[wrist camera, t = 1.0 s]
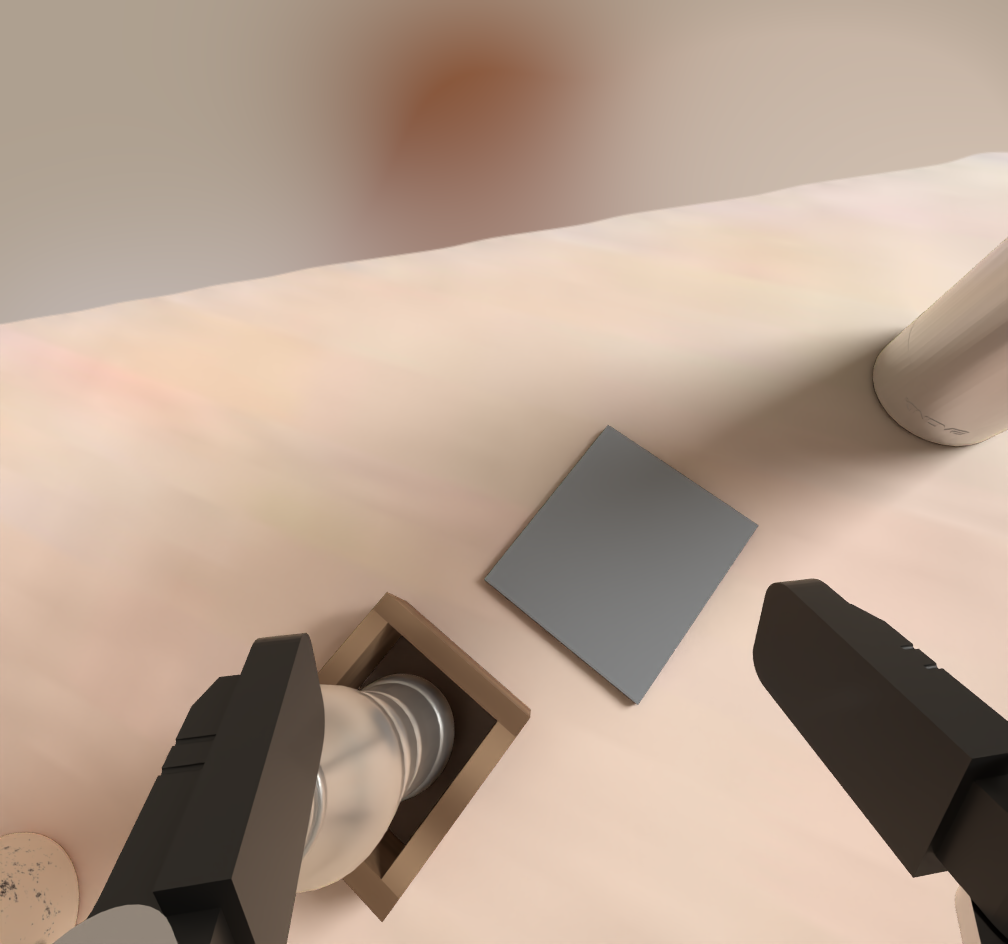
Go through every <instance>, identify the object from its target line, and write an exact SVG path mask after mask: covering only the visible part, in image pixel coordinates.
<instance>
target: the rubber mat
mask: <svg viewBox="0 0 1008 944" xmlns="http://www.w3.org/2000/svg"><path fill="white" fill-rule="evenodd" d="M757 527H758V525H757V524H756V523H754V522H753V521H751V520H750V519H748V518H747V517H745V516H744V515H742V514H741V513H739V512H738V511H736V510H735V509H733V508H732V507H730V506H729V505H727V504H726V503H724V502H723V501H721V500H720V499H718V498H717V497H715V496H714V495H712V494H711V493H709V492H708V491H706V490H705V489H703V488H702V487H700V486H699V485H697V484H696V483H694V482H693V481H691V480H690V479H688V478H687V477H685V476H684V475H682V474H681V473H679V472H678V471H676V470H675V469H673V468H672V467H670V466H669V465H667V464H666V463H665V462H663V461H662V460H660V459H659V458H657V457H656V456H654V455H653V454H651V453H650V452H648V451H647V450H645V449H644V448H642V447H641V446H639V445H638V444H636V443H635V442H633V441H632V440H630V439H629V438H627V437H626V436H624V435H623V434H621V433H620V432H618V431H617V430H615V429H614V428H612V427H611V426H609V425H608V426H607V427H606V428H605V429H604V431H603V432H602V433H601V434H600V436H599V437H598V438H597V439H596V441H595V442H594V443H593V444H592V445H591V447H590V448H589V449H588V450H587V452H586V453H585V454H584V455H583V457H582V458H581V459H580V460H579V462H578V463H577V464H576V465H575V467H574V468H573V469H572V470H571V472H570V473H569V474H568V475H567V477H566V478H565V479H564V480H563V482H562V483H561V484H560V485H559V487H558V488H557V489H556V490H555V492H554V493H553V494H552V495H551V497H550V498H549V499H548V500H547V502H546V503H545V504H544V505H543V507H542V508H541V509H540V510H539V511H538V513H537V514H536V515H535V516H534V518H533V519H532V520H531V521H530V523H529V524H528V525H527V526H526V528H525V529H524V530H523V531H522V533H521V534H520V535H519V536H518V538H517V539H516V540H515V541H514V543H513V544H512V545H511V546H510V548H509V549H508V550H507V551H506V553H505V554H504V555H503V556H502V558H501V559H500V560H499V561H498V563H497V564H496V565H495V566H494V568H493V569H492V570H491V571H490V573H489V574H488V575H487V576H486V577H485V579H484V580H485V581H486V582H488V583H489V584H490V585H491V586H492V587H494V588H495V589H496V590H497V591H499V592H500V593H501V594H502V595H503V596H505V597H506V598H507V599H508V600H510V601H511V602H512V603H513V604H514V605H516V606H517V607H518V608H519V609H521V610H522V611H523V612H524V613H525V614H527V615H528V616H529V617H530V618H532V619H533V620H534V621H535V622H536V623H538V624H539V625H540V626H541V627H543V628H544V629H545V630H546V631H547V632H549V633H550V634H551V635H552V636H554V637H555V638H556V639H557V640H558V641H560V642H561V643H562V644H563V645H565V646H566V647H567V648H568V649H570V650H571V651H572V652H573V653H574V654H576V655H577V656H578V657H579V658H581V659H582V660H583V661H584V662H585V663H587V664H588V665H589V666H590V667H592V668H593V669H594V670H595V671H596V672H598V673H599V674H600V675H601V676H603V677H604V678H605V679H606V680H607V681H609V682H610V683H611V684H612V685H614V686H615V687H616V688H617V689H618V690H620V691H621V692H622V693H623V694H625V695H626V696H627V697H628V698H629V699H631V700H632V701H633V702H634V703H636V704H637V705H638V704H639V703H640V701H641V700H642V698H643V697H644V695H645V694H646V692H647V691H648V689H649V688H650V686H651V685H652V683H653V682H654V680H655V679H656V677H657V676H658V674H659V673H660V671H661V670H662V668H663V667H664V665H665V664H666V663H667V661H668V660H669V658H670V657H671V655H672V654H673V652H674V651H675V649H676V648H677V646H678V645H679V643H680V642H681V640H682V639H683V637H684V636H685V634H686V633H687V631H688V630H689V628H690V627H691V625H692V624H693V622H694V621H695V619H696V618H697V616H698V615H699V613H700V612H701V610H702V609H703V607H704V606H705V604H706V603H707V601H708V600H709V598H710V597H711V595H712V594H713V592H714V591H715V589H716V588H717V586H718V585H719V583H720V582H721V581H722V579H723V578H724V576H725V575H726V573H727V572H728V570H729V569H730V567H731V566H732V564H733V563H734V561H735V560H736V558H737V557H738V555H739V554H740V552H741V551H742V549H743V548H744V546H745V545H746V543H747V542H748V540H749V539H750V537H751V536H752V534H753V533H754V531H755V530H756V528H757Z"/></svg>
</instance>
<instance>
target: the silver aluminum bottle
mask: <svg viewBox="0 0 1008 944" xmlns="http://www.w3.org/2000/svg"><path fill="white" fill-rule="evenodd" d="M320 687H321V692H322V697H323V702H324V711H325V733H324V743H323V749H322V754H321V759H320V765H319V770H318V776H317V781H316V787H315V792H314V797H313V803H312V808H311V814H310V819H309V824H308V830H307V835H306V841H305V846H304V852H303V857H302V862H301V868H300V873H299V879H298V884H297V890H296V893H302V892H307V891H312V890H318V889H320V888H323V887H325V886H328V885H330V884H333V883H335V882H337V881H339V880H340V879H342V878H343V877H345V876H346V875H348V874H349V873H351V872H352V871H354V870H355V869H356V868H357V867H358V866H359V865H360V864H361V863H362V862H363V861H364V860H365V859H366V858H367V857H368V856H369V855H370V854H371V852H372V851H373V850H374V848H375V847H376V846H377V844H378V843H379V841H380V840H381V839H382V837H383V835H384V834H385V832H386V831H387V829H388V827H389V825H390V823H391V821H392V819H393V817H394V815H395V813H396V811H397V808H398V806H399V803H400V802H402V801H404V800H407V799H409V798H411V797H414V796H416V795H418V794H419V793H421V792H422V791H424V790H425V789H427V788H428V787H429V786H430V785H431V784H432V783H433V782H434V781H435V780H436V779H437V778H438V777H439V775H440V774H441V773H442V771H443V770H444V768H445V766H446V764H447V762H448V760H449V758H450V755H451V751H452V748H453V743H454V733H455V730H454V718H453V714H452V711H451V707H450V705H449V703H448V701H447V699H446V698H445V696H444V695H443V694H442V693H441V691H440V690H439V689H438V688H437V687H436V686H435V685H433V684H432V683H431V682H430V681H428V680H426V679H424V678H422V677H419V676H415V675H412V674H394V675H388V676H385V677H383V678H380V679H378V680H376V681H374V682H373V683H371V684H369V685H368V686H366V687H365V688H363V689H362V690H360V691H359V690H357V689H353V688H350V687H346V686H341V685H322V684H320Z"/></svg>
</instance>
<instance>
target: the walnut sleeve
mask: <svg viewBox="0 0 1008 944" xmlns="http://www.w3.org/2000/svg"><path fill="white" fill-rule="evenodd" d="M401 636H403V637H405V638H406V639H407V640H408V641H409V642H410V643H411V644H412V645H413V646H415V647H416V648H417V649H418V650H419V651H420V652H421V653H422V654H423V655H425V656H426V657H427V658H428V659H429V660H430V661H431V662H432V663H433V664H435V665H436V666H437V667H438V668H439V669H440V670H441V671H442V672H444V673H445V674H446V675H447V676H448V677H449V678H450V679H451V680H452V681H454V682H455V683H456V684H457V685H458V686H459V687H460V688H461V689H462V690H464V691H465V692H466V693H467V694H468V695H469V696H470V697H471V698H472V699H474V700H475V701H476V702H477V703H478V704H479V705H480V706H481V707H482V708H484V709H485V710H486V711H487V712H488V713H489V714H490V715H491V716H493V717H494V718H495V719H496V720H497V722H496V723H495V725H494V726H493V727H492V729H491V730H490V731H489V733H488V734H487V735H486V737H485V738H484V739H483V741H482V742H481V744H480V745H479V746H478V748H477V749H476V750H475V752H474V753H473V754H472V756H471V757H470V758H469V760H468V761H467V762H466V764H465V765H464V767H463V768H462V769H461V771H460V772H459V773H458V775H457V776H456V777H455V779H454V780H453V781H452V783H451V784H450V786H449V787H448V788H447V790H446V791H445V792H444V794H443V795H442V796H441V798H440V799H439V800H438V802H437V803H436V805H435V806H434V807H433V809H432V810H431V811H430V813H429V814H428V815H427V817H426V818H425V819H424V821H423V822H422V823H421V825H420V826H419V828H418V829H417V830H416V832H415V833H414V834H413V836H412V837H411V838H410V840H409V841H408V842H407V844H406V845H404V844H403V843H402V842H401V841H400V840H399V839H398V838H397V837H396V836H395V835H394V834H393V833H392V832H391V831H390V830H389V829H387V831H386V832H385V834H384V835H383V837H382V839H381V840H380V841H379V843H378V844H377V846H376V847H375V848H374V850H373V851H372V852H371V854H370V855H369V856H368V857H367V858H366V859H365V860H364V861H363V862H362V863H361V864H360V865H359V866H358V867H357V868H356V869H355V870H354V871H352V872H351V873H349V874H348V875H346V876H345V877H343V878H342V879H343V880H344V881H345V882H346V883H347V884H348V885H349V886H350V888H351V889H352V890H353V891H354V892H355V893H356V894H357V895H358V896H359V897H360V899H361V900H362V901H363V902H364V903H365V904H366V905H367V906H368V907H369V908H370V910H371V911H372V912H373V913H374V914H375V915H376V916H377V917H378V918H379V919H380V921H381V922H383V921H384V919H385V918H386V916H387V915H388V914H389V912H390V911H391V910H392V908H393V907H394V905H395V904H396V903H397V901H398V900H399V898H400V897H401V896H402V894H403V893H404V892H405V890H406V889H407V887H408V886H409V885H410V883H411V882H412V880H413V879H414V878H415V876H416V875H417V874H418V872H419V871H420V869H421V868H422V867H423V865H424V864H425V862H426V861H427V860H428V858H429V857H430V856H431V854H432V853H433V851H434V850H435V849H436V847H437V846H438V844H439V843H440V842H441V840H442V839H443V838H444V836H445V835H446V833H447V832H448V831H449V829H450V828H451V826H452V825H453V824H454V822H455V821H456V820H457V818H458V817H459V815H460V814H461V813H462V811H463V810H464V808H465V807H466V806H467V804H468V803H469V802H470V800H471V799H472V797H473V796H474V795H475V793H476V792H477V790H478V789H479V788H480V786H481V785H482V784H483V782H484V781H485V779H486V778H487V777H488V775H489V774H490V772H491V771H492V770H493V768H494V767H495V766H496V764H497V763H498V761H499V760H500V759H501V757H502V756H503V754H504V753H505V752H506V750H507V749H508V747H509V746H510V745H511V743H512V742H513V741H514V739H515V738H516V736H517V735H518V734H519V732H520V731H521V729H522V728H523V727H524V725H525V724H526V723H527V721H528V720H529V718H530V712H531V709H529V708H528V707H527V706H526V705H525V704H524V703H523V702H521V701H520V700H519V699H518V698H517V697H516V696H514V695H513V694H512V693H511V692H510V691H509V690H508V689H506V688H505V687H504V686H503V685H502V684H501V683H500V682H498V681H497V680H496V679H495V678H494V677H493V676H492V675H490V674H489V673H488V672H487V671H486V670H485V669H484V668H482V667H481V666H480V665H479V664H478V663H477V662H476V661H474V660H473V659H472V658H471V657H470V656H469V655H468V654H466V653H465V652H464V651H463V650H462V649H461V648H460V647H458V646H457V645H456V644H455V643H454V642H453V641H451V640H450V639H449V638H448V637H447V636H446V635H445V634H443V633H442V632H441V631H440V630H439V629H438V628H437V627H435V626H434V625H433V624H432V623H431V622H430V621H429V620H427V619H426V618H425V617H424V616H423V615H422V614H421V613H419V612H418V611H417V610H416V609H415V608H414V607H413V606H411V605H410V604H409V603H408V602H407V601H405V600H403V599H401V598H398V597H396V596H394V595H392V594H390V593H388V592H387V593H386V594H385V595H384V596H383V597H382V599H381V600H380V601H379V602H378V603H377V604H376V606H375V607H374V608H373V609H372V610H371V611H370V613H369V614H368V615H367V616H366V617H365V618H364V620H363V621H362V622H361V623H360V624H359V626H358V627H357V628H356V629H355V630H354V631H353V633H352V634H351V635H350V636H349V637H348V638H347V640H346V641H345V642H344V643H343V644H342V646H341V647H340V648H339V649H338V650H337V651H336V653H335V654H334V655H333V656H332V657H331V658H330V660H329V661H328V662H327V663H326V664H325V666H324V667H323V668H322V669H321V670H320V671H319V673H318V678H319V683H320V684H322V685H341V686H346V687H350V688H353V689H358V688H359V687H360V686H361V684H362V683H363V682H364V681H365V679H366V678H367V677H368V676H369V675H370V673H371V672H372V671H373V670H374V669H375V667H376V666H377V665H378V664H379V662H380V661H381V660H382V659H383V658H384V656H385V655H386V654H387V653H388V652H389V650H390V649H391V648H392V647H393V645H394V644H395V643H396V642H397V641H398V639H399V638H400V637H401Z"/></svg>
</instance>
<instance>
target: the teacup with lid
mask: <svg viewBox="0 0 1008 944" xmlns="http://www.w3.org/2000/svg"><path fill="white" fill-rule="evenodd" d="M78 907H79V888H78V880H77V875H76V872H75V869H74V866H73V864H72V862H71V860H70V858H69V856H68V855H67V853H66V852H65V851H64V849H63V848H62V847H61V846H60V845H59V844H57V843H56V842H55V841H53V840H52V839H50V838H48V837H46V836H43V835H40V834H36V833H29V832H21V833H13V834H8V835H5V836H1V837H0V944H53V943H54V942H55V941H56V940H58V939H59V938H60V937H62V936H63V935H64V934H65V933H67V932H68V931H69V930H71V929H72V928H74V927H75V924H76V920H77V914H78Z"/></svg>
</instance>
